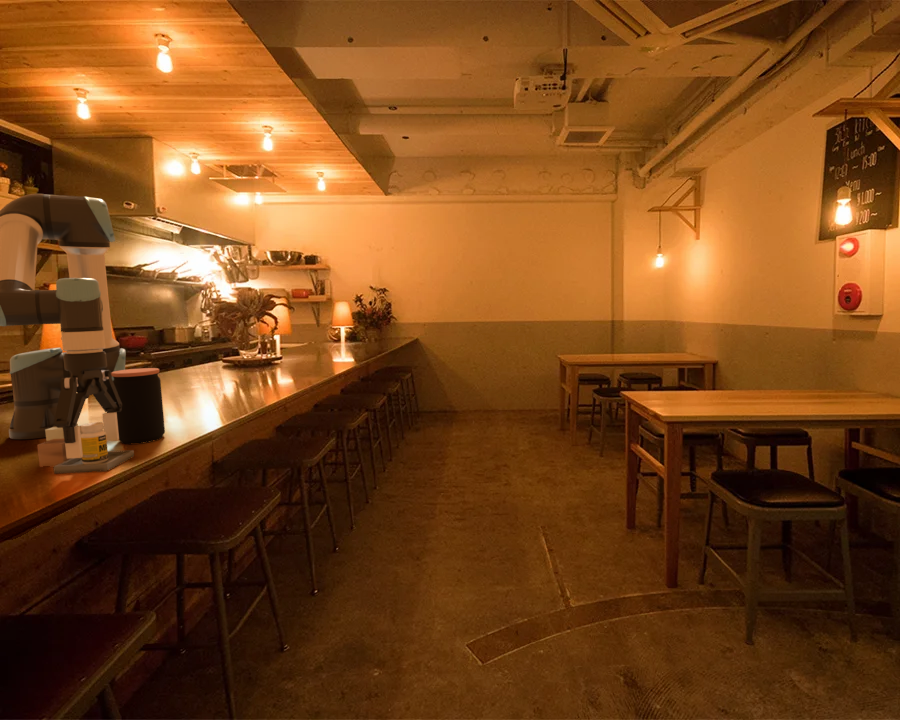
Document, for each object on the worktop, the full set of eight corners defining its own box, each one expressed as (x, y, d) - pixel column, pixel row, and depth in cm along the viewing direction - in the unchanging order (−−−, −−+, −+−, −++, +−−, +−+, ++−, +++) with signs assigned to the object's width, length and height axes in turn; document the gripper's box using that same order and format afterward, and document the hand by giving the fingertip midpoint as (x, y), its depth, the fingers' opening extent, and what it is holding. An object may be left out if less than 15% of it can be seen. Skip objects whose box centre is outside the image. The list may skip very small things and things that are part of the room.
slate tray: (85, 458, 119) (84, 452, 119) (134, 456, 120) (133, 450, 120) (54, 473, 109) (53, 466, 109) (107, 470, 110) (107, 463, 109)
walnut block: (55, 460, 119) (52, 439, 118) (78, 459, 119) (76, 437, 119) (39, 467, 114) (37, 444, 114) (64, 466, 114) (61, 443, 114)
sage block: (63, 443, 135) (61, 424, 134) (79, 442, 135) (77, 423, 134) (47, 449, 129) (45, 429, 128) (64, 449, 129) (62, 429, 129)
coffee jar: (174, 434, 141) (168, 367, 139) (147, 444, 130) (140, 373, 129) (136, 434, 142) (130, 368, 140) (107, 444, 131) (100, 373, 130)
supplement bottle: (103, 463, 113) (100, 425, 112) (78, 466, 111) (74, 427, 111) (111, 457, 117) (108, 420, 116) (87, 459, 116) (83, 422, 115)
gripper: (100, 347, 124) (109, 435, 126) (23, 357, 99) (35, 467, 101) (133, 346, 124) (141, 434, 127) (65, 356, 100) (76, 465, 102)
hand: (94, 448), depth 114 cm, fingers open, 13 cm apart
